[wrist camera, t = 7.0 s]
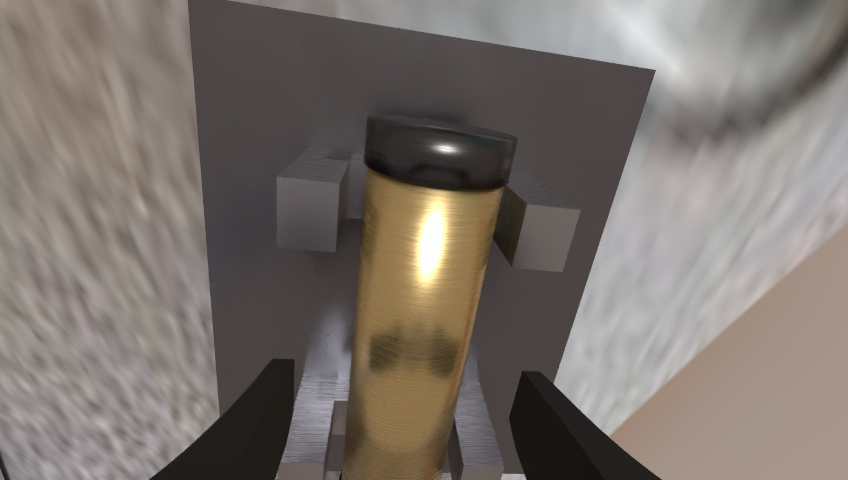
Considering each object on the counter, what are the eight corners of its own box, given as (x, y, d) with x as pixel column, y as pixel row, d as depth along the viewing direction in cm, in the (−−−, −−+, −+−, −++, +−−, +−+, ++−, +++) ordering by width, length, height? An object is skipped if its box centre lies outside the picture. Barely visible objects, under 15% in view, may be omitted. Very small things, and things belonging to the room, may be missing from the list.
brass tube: (428, 456, 19) (444, 553, 15) (339, 459, 18) (333, 561, 14) (491, 127, 13) (543, 148, 9) (367, 110, 12) (367, 127, 9)
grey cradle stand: (518, 457, 23) (555, 565, 18) (231, 451, 21) (181, 571, 16) (639, 70, 15) (765, 67, 10) (201, -1, 13) (84, -50, 8)
